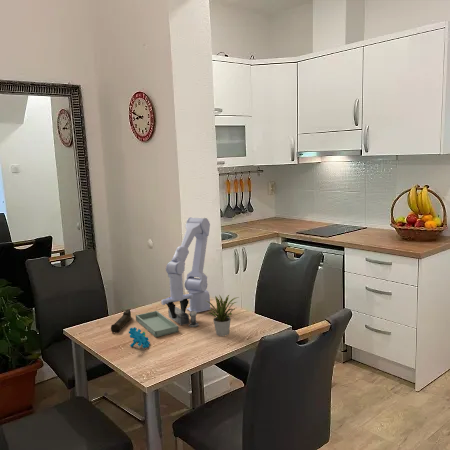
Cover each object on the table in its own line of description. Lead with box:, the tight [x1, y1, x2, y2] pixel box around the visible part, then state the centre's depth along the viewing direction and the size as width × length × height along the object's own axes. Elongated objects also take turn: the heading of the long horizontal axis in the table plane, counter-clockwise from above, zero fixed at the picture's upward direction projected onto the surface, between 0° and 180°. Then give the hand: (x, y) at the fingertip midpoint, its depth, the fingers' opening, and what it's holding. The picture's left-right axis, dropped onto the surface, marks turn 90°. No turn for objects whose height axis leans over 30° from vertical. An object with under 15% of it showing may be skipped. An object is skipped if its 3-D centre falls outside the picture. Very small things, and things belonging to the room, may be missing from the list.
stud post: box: [188, 310, 200, 328], centre depth 197 cm, size 4×4×7 cm
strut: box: [168, 306, 190, 326], centre depth 205 cm, size 4×14×4 cm, turn 30°
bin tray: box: [135, 310, 179, 338], centre depth 199 cm, size 10×24×2 cm, turn 30°
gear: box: [128, 327, 151, 349], centre depth 178 cm, size 11×6×10 cm
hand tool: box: [110, 309, 132, 334], centre depth 202 cm, size 19×4×5 cm, turn 170°
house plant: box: [207, 294, 240, 337], centre depth 185 cm, size 14×14×16 cm
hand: (178, 316), depth 205 cm, fingers closed on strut, 4 cm apart
